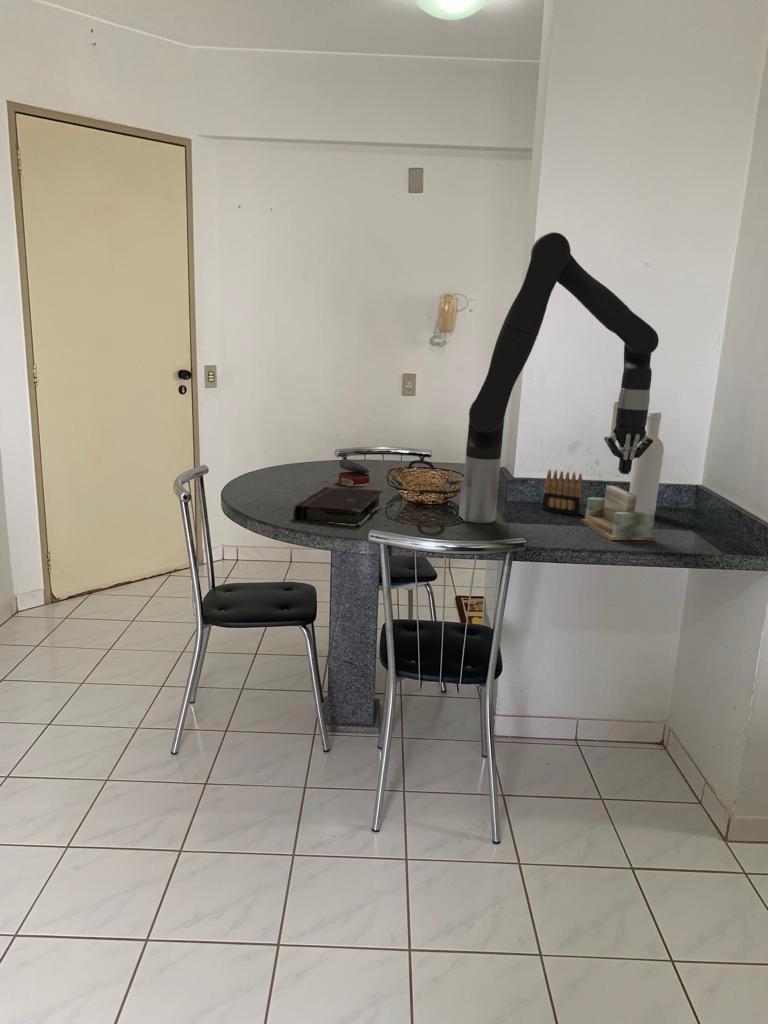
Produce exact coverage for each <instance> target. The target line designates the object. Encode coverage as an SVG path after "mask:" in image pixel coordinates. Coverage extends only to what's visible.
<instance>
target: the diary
mask: <svg viewBox="0 0 768 1024" xmlns="http://www.w3.org/2000/svg"><path fill="white" fill-rule="evenodd" d="M382 493H384V490H377V489H369V488H361V487H360V488H359V487H343V486H342V487H340V486H339V487H335V486H334V487H332V486H324V487H323V488H322V489H320V490H319V491H317V492H315V493H313V494H311V495H310V496H309V497H307V498H306V499H304V500H303V501H300V502H299V503H297V504H296V505H294V507H293V519H294V521H297V520H298V518H299V519H300V518H301V519H302V521H305V520H307V521H308V520H311V522H317V521H323V522H322V523H326V522H334V523H345V524H356V526H359V527H361V526H360V524H359V525H357V524H358V523H359V522H361V521H362V520H363V519H364V518H365V517H366V516H367V515H368V514H370V515H372V511H373V509H375V508H376V507H377V506H378V505H380V502H379V501H380V496H381V494H382ZM301 516H302V517H301ZM372 516H373V515H372ZM306 518H307V519H306ZM312 520H313V521H312Z"/></svg>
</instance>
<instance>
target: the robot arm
mask: <svg viewBox="0 0 768 1024" xmlns="http://www.w3.org/2000/svg"><path fill="white" fill-rule="evenodd" d="M571 251H572V250H571V246H570V242H569V240H568V239H567V238H566V237H565V236H564V234H562V233H560V232H556V231H555V232H554V231H553V232H547V233H544V234H542V235H541V236H539V238H537V240H536V241H535V242H534V243H533V246H532V248H531V252H530V261H529V263H528V267H527V270H526V274H525V277H524V281H523V283H522V285H521V288H520V290H519V292H518V293H517V295H516V297H515V299H514V301H513V302H512V304H511V306H510V308H509V309H508V312H507V314H506V316H505V317H504V318H505V319H504V321H503V323H502V325H501V328H500V330H499V333H498V336H497V339H496V341H495V345H494V348H493V351H492V354H491V359H490V362H489V367H488V371H487V374H486V377H485V379H484V381H483V384H482V385H481V388H480V390H479V391H478V393H477V396H476V398H475V399H474V401H473V402H472V403H471V405H470V408H469V411H468V418H469V419H468V429H467V440H466V448H465V449H466V451H465V462H464V474H463V475H464V476H463V481H462V482H461V483H460V496H459V505H458V506H459V508H458V517H459V516H460V517H461V518H462V519H463V520H462V519H461V518H460V517H459V518H460V519H461V520H462V521H463V522H466V523H467V522H469V523H475V524H476V523H477V524H490V523H494V522H495V521H496V514H497V513H496V511H497V501H498V492H499V491H498V490H499V479H500V471H501V459H502V451H503V449H502V448H503V439H504V438H503V437H504V436H503V434H504V427H505V425H504V424H505V417H506V411H507V408H508V404H509V401H510V398H511V394H512V391H513V389H514V386H515V384H516V382H517V380H518V378H519V377H520V375H521V372H522V370H524V367H525V365H526V363H527V361H528V359H529V357H530V355H531V353H532V350H533V348H534V345H535V343H536V341H537V339H538V336H539V332H540V330H541V328H542V327H541V326H542V325H543V322H544V317H545V316H546V311H547V307H548V304H549V301H550V297H551V295H552V293H553V290H554V288H555V286H556V284H557V283H558V284H559V285H561V286H562V287H563V288H564V289H565V290H566V291H568V292H569V293H570V294H571V295H573V297H574V298H575V299H576V300H577V301H578V302H579V303H581V305H582V306H584V308H585V309H586V310H587V311H588V312H589V313H590V314H591V315H592V316H593V317H594V318H595V319H596V320H598V322H600V324H602V326H604V327H605V328H606V329H607V330H608V331H610V332H611V333H614V334H615V335H616V336H617V337H618V338H619V339H620V340H621V341H622V342H623V344H624V346H623V372H622V378H621V383H620V385H621V386H620V392H619V394H618V401H617V408H616V409H617V410H616V414H615V415H616V417H615V427H614V429H613V431H612V433H611V434H610V435H609V436H605V437H604V441H605V443H606V445H607V447H608V448H609V450H610V452H611V454H612V455H613V456H614V457H617V458H618V459H619V461H618V471H619V473H620V474H623V475H629V474H630V473H631V472H632V468H633V461H634V458H639V457H640V456H641V455H642V454H643V453H644V452H645V451H646V450H647V448H648V447H649V446H650V445H651V444H652V443H653V440H652V439H650V438H649V437H648V436H646V423H647V415H648V412H649V407H650V395H651V393H650V391H651V384H652V378H653V377H652V376H653V375H652V374H653V373H652V371H653V370H652V368H651V359H652V353H654V352H655V350H657V348H658V346H659V342H660V340H659V335H658V333H657V332H656V330H655V329H654V328H653V327H652V326H651V325H650V324H649V323H647V322H646V321H645V320H644V319H642V318H641V317H640V316H638V315H637V314H636V313H635V312H633V311H632V309H630V307H629V306H628V305H627V304H626V303H625V302H623V300H621V299H620V297H618V296H617V295H616V294H615V293H614V292H613V291H612V290H610V289H609V288H608V287H607V286H605V285H604V284H603V283H601V282H600V281H599V280H597V279H596V278H595V277H593V276H592V275H591V274H590V273H588V272H587V271H586V270H585V269H584V268H583V267H582V266H581V265H580V264H579V263H578V262H577V260H576V259H575V257H573V255H572V254H571ZM616 442H617V443H618V445H617V444H616ZM640 442H641V443H640ZM639 443H640V444H639ZM638 444H639V446H638V447H637V445H638Z"/></svg>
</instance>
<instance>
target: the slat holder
mask: <svg viewBox="0 0 768 1024" xmlns="http://www.w3.org/2000/svg"><path fill="white" fill-rule="evenodd" d="M604 501H605V497H587V501H586V507H585V515H584V518H581V521H580V523H581V522H582V524H583V523H584V524H583V525H585V526H586V525H587V526H586V527H588V528H590V529H591V528H592V529H591V530H593V531H594V530H595V531H594V532H596V531H597V532H596V533H598V532H599V533H600V534H599V533H598V534H599V535H601V534H602V535H604V536H605V537H604V536H603V537H604V538H606V537H607V538H608V539H607V538H606V539H607V540H609V539H610V540H609V541H611V540H655V541H656V537H655V536H654V535H653V530H654V523H655V516H656V514H653V513H651V512H614V520H613V524H612V523H611V522H609V521H607V520H605V519H603V518H602V517H603V509H604ZM602 535H601V536H602Z"/></svg>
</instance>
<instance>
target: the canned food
mask: <svg viewBox="0 0 768 1024" xmlns="http://www.w3.org/2000/svg"><path fill="white" fill-rule="evenodd" d="M338 466H339V467H340V468H341V469H343V470H344V472H343V471H342V472H339V473H338V483H339V482H341V483H345V484H353V485H356V484H358V485H359V484H366V483H369V484H370V480H371V479H370V474H368V473H370V472H371V471H370V469H368V468H366V467H365V465H364V466H363V465H361V464H360V463H358V462H356V461H353V460H352V459H348V458H347V459H343V458H342V459H340V461H339V464H338Z"/></svg>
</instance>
